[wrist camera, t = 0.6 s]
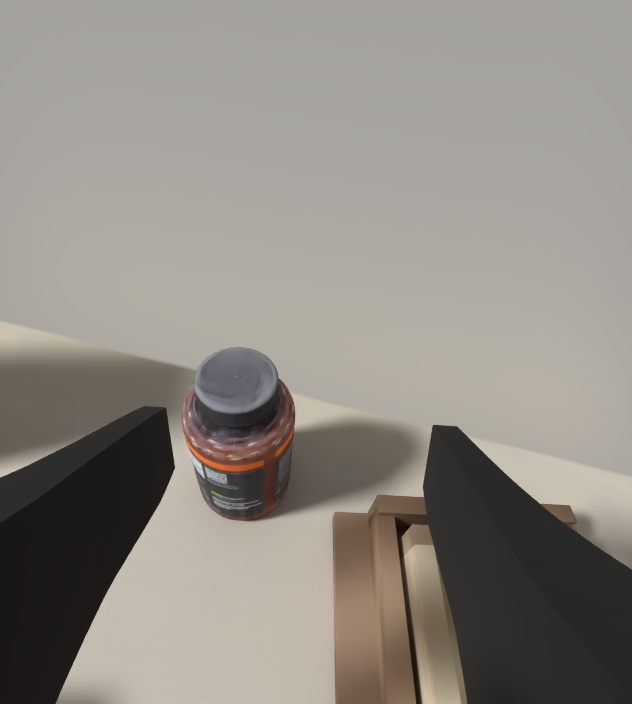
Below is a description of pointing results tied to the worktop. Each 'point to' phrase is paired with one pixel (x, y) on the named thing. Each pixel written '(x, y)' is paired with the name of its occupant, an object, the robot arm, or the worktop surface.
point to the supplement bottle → (240, 432)
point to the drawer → (429, 622)
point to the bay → (378, 600)
